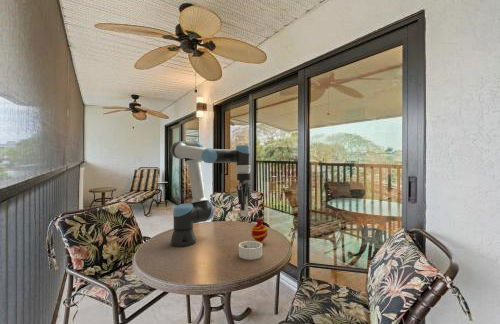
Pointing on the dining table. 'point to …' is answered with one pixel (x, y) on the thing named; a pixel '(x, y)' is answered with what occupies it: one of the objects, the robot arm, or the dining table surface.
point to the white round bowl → (250, 250)
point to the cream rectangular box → (246, 207)
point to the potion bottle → (259, 231)
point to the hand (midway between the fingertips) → (244, 215)
